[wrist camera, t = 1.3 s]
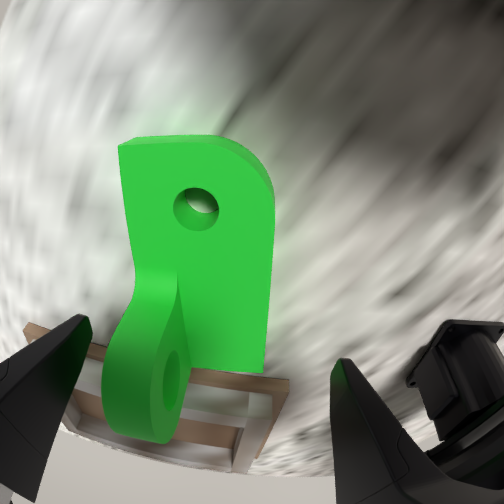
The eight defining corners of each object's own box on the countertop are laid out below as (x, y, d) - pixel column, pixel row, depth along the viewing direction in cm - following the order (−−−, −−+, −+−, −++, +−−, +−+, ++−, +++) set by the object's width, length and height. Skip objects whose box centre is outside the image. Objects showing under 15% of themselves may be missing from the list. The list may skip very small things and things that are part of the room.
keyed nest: (288, 380, 19) (289, 417, 16) (257, 450, 26) (256, 476, 23) (28, 322, 18) (10, 348, 16) (71, 407, 25) (61, 429, 22)
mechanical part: (264, 347, 18) (257, 471, 11) (166, 338, 18) (129, 452, 11) (278, 136, 12) (290, 210, 5) (138, 136, 12) (8, 208, 5)
